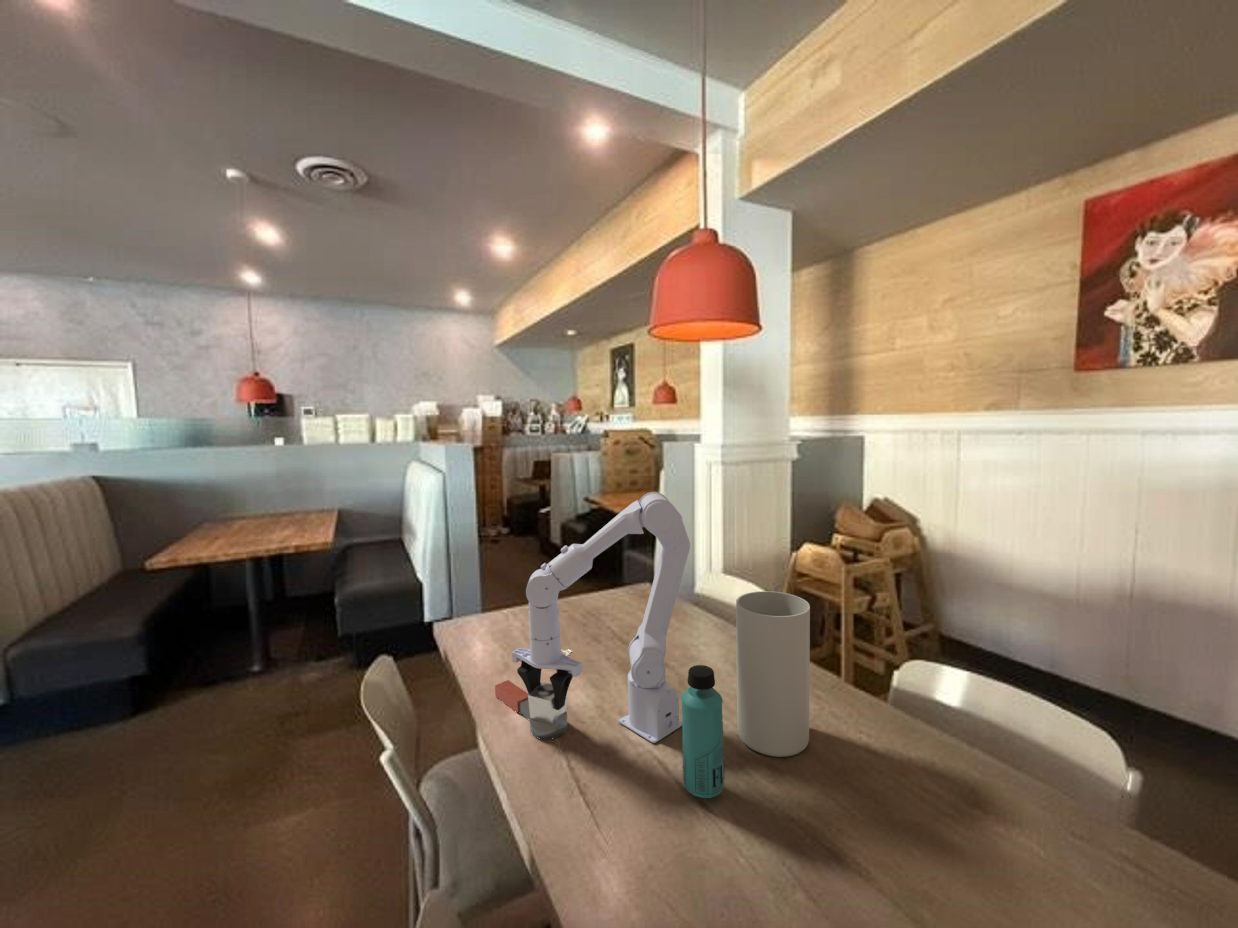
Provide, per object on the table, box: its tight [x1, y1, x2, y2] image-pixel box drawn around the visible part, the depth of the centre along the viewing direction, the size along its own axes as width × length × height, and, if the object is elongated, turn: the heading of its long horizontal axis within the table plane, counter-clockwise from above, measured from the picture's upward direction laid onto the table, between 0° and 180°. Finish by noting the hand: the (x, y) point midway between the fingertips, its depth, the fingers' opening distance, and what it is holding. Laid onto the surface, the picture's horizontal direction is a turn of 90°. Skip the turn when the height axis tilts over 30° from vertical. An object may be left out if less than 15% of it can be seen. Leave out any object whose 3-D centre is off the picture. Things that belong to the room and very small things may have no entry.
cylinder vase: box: [735, 590, 811, 758], centre depth 93 cm, size 12×12×25 cm
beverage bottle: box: [680, 664, 726, 799], centre depth 80 cm, size 6×7×20 cm
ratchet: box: [494, 679, 568, 740], centre depth 103 cm, size 21×7×5 cm, turn 43°
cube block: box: [528, 679, 568, 726], centre depth 98 cm, size 5×5×5 cm
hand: (547, 703), depth 98 cm, fingers open, 5 cm apart
